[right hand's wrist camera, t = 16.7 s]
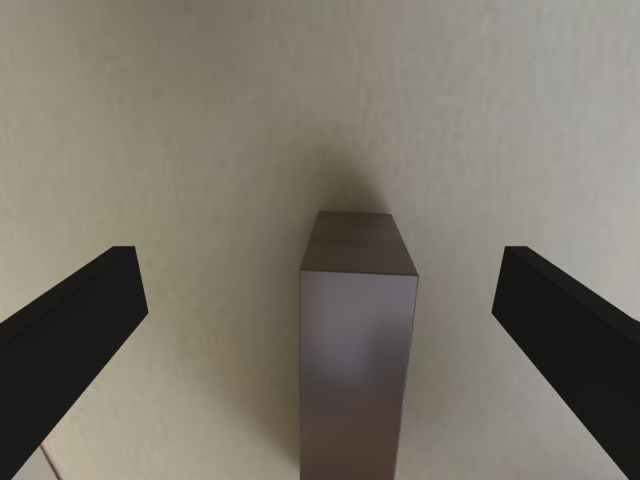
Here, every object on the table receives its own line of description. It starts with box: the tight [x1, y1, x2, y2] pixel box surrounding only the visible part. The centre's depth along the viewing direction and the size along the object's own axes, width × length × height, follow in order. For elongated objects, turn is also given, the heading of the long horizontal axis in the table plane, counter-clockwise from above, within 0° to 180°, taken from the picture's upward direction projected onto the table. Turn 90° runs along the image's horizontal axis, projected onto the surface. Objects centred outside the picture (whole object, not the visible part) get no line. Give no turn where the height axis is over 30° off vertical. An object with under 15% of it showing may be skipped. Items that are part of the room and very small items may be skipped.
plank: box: [299, 212, 419, 480], centre depth 24 cm, size 26×5×10 cm, turn 179°
